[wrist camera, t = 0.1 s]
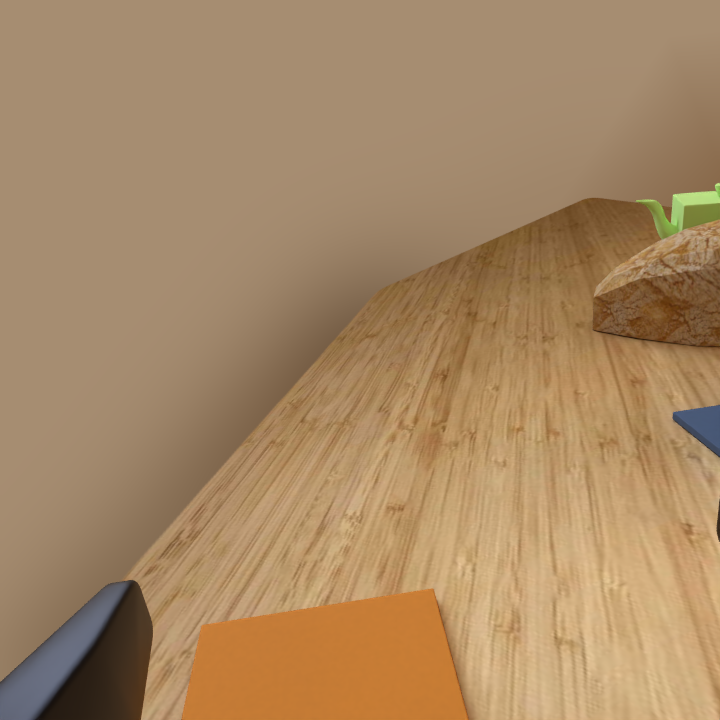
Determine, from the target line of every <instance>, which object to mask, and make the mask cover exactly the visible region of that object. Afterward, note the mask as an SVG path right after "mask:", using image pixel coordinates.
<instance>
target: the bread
mask: <svg viewBox="0 0 720 720" xmlns="http://www.w3.org/2000/svg"><path fill="white" fill-rule="evenodd" d="M593 330H597V331H602V332H607V333H613V334H618V335H623V336H628V337H634V338H641V339H648V340H656V341H664V342H671V343H679V344H687V345H694V346H720V220H716V221H713V222H709V223H705V224H702V225H698V226H695V227H691V228H688V229H685V230H683V231H680V232H678V233H676V234H674V235H672V236H669V237H667V238H665V239H663V240H661V241H659V242H656V243H654V244H653V245H651V246H650V247H648V248H646V249H645V250H643V251H642V252H640V253H638V254H637V255H635V256H634V257H632V258H630V259H629V260H627V261H626V262H624V263H622V264H621V265H619V266H617V267H616V268H615V269H614V270H613V271H612V272H611V273H610V274H609V275H608V276H607V277H606V278H605V279H604V280H603V281H602V282H601V283H600V284H599V285H598V286H597V287H596V291H595V294H594V304H593Z"/></svg>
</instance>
